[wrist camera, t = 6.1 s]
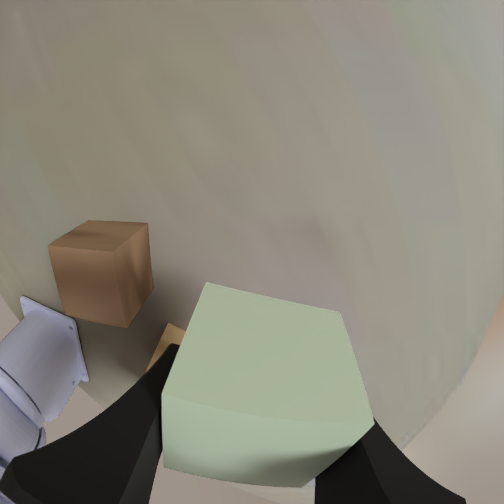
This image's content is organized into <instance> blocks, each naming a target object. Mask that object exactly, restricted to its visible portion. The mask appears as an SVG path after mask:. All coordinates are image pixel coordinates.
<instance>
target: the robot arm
mask: <svg viewBox="0 0 504 504" xmlns="http://www.w3.org/2000/svg"><path fill="white" fill-rule="evenodd" d="M20 302H21V306H22V310H23V313H24V318H23V319H22V320H21V321H20V322H19V323H18V324H17V325H16V326H15V327H14V328H13V329H12V330H11V331H10V333H9V334H8V335H7V336H6V337H5V338H4V339H3V340H2V341H1V342H0V504H149V499H150V494H151V490H152V486H153V481H154V478H155V473H156V469H157V465H158V462H159V458H160V455H161V453H162V450H163V443H162V392H163V389H164V386H165V384H166V381H167V378H168V376H169V373H170V371H171V368H172V365H173V363H174V360H175V358H176V355H177V353H178V350H179V348H180V345H178V344H174V343H171V344H169V345H168V347H167V348H166V350H165V351H164V352H163V354H162V355H161V356H160V357H159V359H158V360H157V361H156V362H155V363H154V364H153V366H152V367H151V368H150V369H149V370H148V371H147V372H146V373H145V374H144V375H143V376H142V377H141V378H140V379H139V380H138V381H137V383H135V384H134V385H133V386H132V387H131V388H130V389H129V390H128V391H127V392H126V393H125V394H124V395H122V396H121V397H120V398H119V399H118V400H117V401H116V402H115V403H113V404H112V405H111V406H110V407H108V408H107V409H106V410H105V411H103V412H102V413H101V414H99V415H98V416H96V417H95V418H94V419H92V420H91V421H89V422H88V423H86V424H84V425H83V426H81V427H80V428H78V429H77V430H75V431H73V432H71V433H70V434H68V435H66V436H64V437H62V438H60V439H58V440H56V441H54V442H52V443H50V444H48V445H46V432H45V429H44V428H43V426H42V425H43V423H44V422H49V421H51V420H54V419H55V418H57V417H58V416H59V415H60V414H61V412H62V410H63V409H64V407H65V405H66V404H67V401H68V400H69V398H70V397H71V395H72V393H73V392H74V390H75V388H76V387H77V385H78V383H79V382H80V380H82V381H85V382H88V380H89V377H88V374H87V370H86V366H85V362H84V358H83V354H82V350H81V346H80V341H79V336H78V331H77V326H76V322H75V321H74V320H73V319H72V318H70V317H67V316H65V315H63V314H60V313H58V312H56V311H54V310H52V309H49V308H47V307H45V306H43V305H41V304H39V303H37V302H35V301H33V300H31V299H29V298H27V297H25V296H21V297H20ZM373 419H374V417H373ZM374 423H375V424H374V425H373V426H372V427H371V428H370V429H369V430H368V431H367V432H366V433H365V434H364V435H363V436H362V437H361V438H360V439H359V440H358V441H357V442H356V443H355V444H354V445H353V446H352V447H351V448H349V449H348V450H347V451H346V452H345V453H344V454H343V455H342V456H341V457H339V458H338V459H337V460H336V461H335V462H334V463H332V464H331V465H330V466H329V467H328V468H326V469H325V470H324V471H323V472H321V473H320V474H319V475H317V476H316V477H315V504H466V501H465V498H463V497H461V496H459V495H457V494H455V493H453V492H451V491H450V490H448V489H446V488H444V487H443V486H441V485H440V484H438V483H437V482H435V481H434V480H433V479H431V478H430V477H428V476H427V475H426V474H425V473H424V472H422V471H421V470H420V469H419V468H418V467H416V466H415V465H414V464H413V463H412V462H411V461H410V460H409V459H408V458H407V457H406V456H405V455H404V454H403V453H402V452H401V451H400V450H399V449H398V448H397V446H396V445H395V444H394V443H393V442H392V441H391V439H390V438H389V437H388V436H387V434H386V433H385V432H384V431H383V429H382V428H381V427H380V425H379V424H378V423H377V421H376V420H375V419H374Z"/></svg>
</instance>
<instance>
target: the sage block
mask: <svg viewBox="0 0 504 504" xmlns="http://www.w3.org/2000/svg"><path fill="white" fill-rule="evenodd" d="M374 424H375V423H374V419H373V416H372V412H371V408H370V405H369V401H368V398H367V394H366V391H365V388H364V384H363V381H362V378H361V374H360V371H359V368H358V365H357V362H356V358H355V355H354V352H353V349H352V346H351V343H350V340H349V337H348V334H347V331H346V328H345V325H344V323H343V320H342V317H341V314H340V312H338V311H333V310H328V309H323V308H318V307H313V306H308V305H304V304H299V303H294V302H290V301H285V300H281V299H276V298H272V297H267V296H263V295H258V294H254V293H250V292H246V291H241V290H237V289H233V288H229V287H225V286H221V285H217V284H213V283H209V282H206V284H205V286H204V288H203V291H202V293H201V296H200V298H199V300H198V303H197V305H196V308H195V310H194V313H193V315H192V318H191V320H190V322H189V325H188V327H187V330H186V332H185V335H184V337H183V340H182V342H181V345H180V348H179V350H178V353H177V355H176V358H175V360H174V363H173V365H172V368H171V371H170V373H169V376H168V378H167V381H166V384H165V386H164V389H163V392H162V443H163V461H164V462H163V463H164V467H165V468H169V469H173V470H176V471H181V472H184V473H188V474H193V475H197V476H201V477H206V478H211V479H217V480H223V481H229V482H235V483H243V484H251V485H261V486H274V487H303V486H304V485H306V484H307V483H308V482H310V481H311V480H312V479H314V478H315V477H316V476H317V475H319V474H320V473H321V472H323V471H324V470H325V469H326V468H328V467H329V466H330V465H331V464H332V463H334V462H335V461H336V460H337V459H338V458H339V457H341V456H342V455H343V454H344V453H345V452H346V451H347V450H348V449H349V448H351V447H352V446H353V445H354V444H355V443H356V442H357V441H358V440H359V439H360V438H361V437H362V436H363V435H364V434H365V433H366V432H367V431H368V430H369V429H370V428H371V427H372V426H373V425H374Z"/></svg>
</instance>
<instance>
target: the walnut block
mask: <svg viewBox="0 0 504 504" xmlns="http://www.w3.org/2000/svg"><path fill="white" fill-rule="evenodd" d="M48 249H49V254H50V259H51V263H52V267H53V272H54V276H55V280H56V283H57V287H58V291H59V294H60V298H61V301H62V304H63V308H64V311H65V314H66V315H68V316H72V317H76V318H80V319H85V320H89V321H93V322H98V323H102V324H107V325H112V326H117V327H122V328H128V327H129V325H130V324H131V322H132V320H133V319H134V317H135V316H136V314H137V313H138V311H139V310H140V308H141V307H142V305H143V303H144V302H145V300H146V299H147V297H148V296H149V294H150V293H151V291H152V290H153V288H154V286H153V278H152V268H151V258H150V246H149V233H148V223H137V222H116V221H92V220H89V221H87V222H85V223H83V224H82V225H80V226H78V227H77V228H75V229H73V230H72V231H70V232H68V233H67V234H65V235H64V236H62V237H60V238H59V239H57V240H56V241H54V242H52V243H51V244H49V245H48Z"/></svg>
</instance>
